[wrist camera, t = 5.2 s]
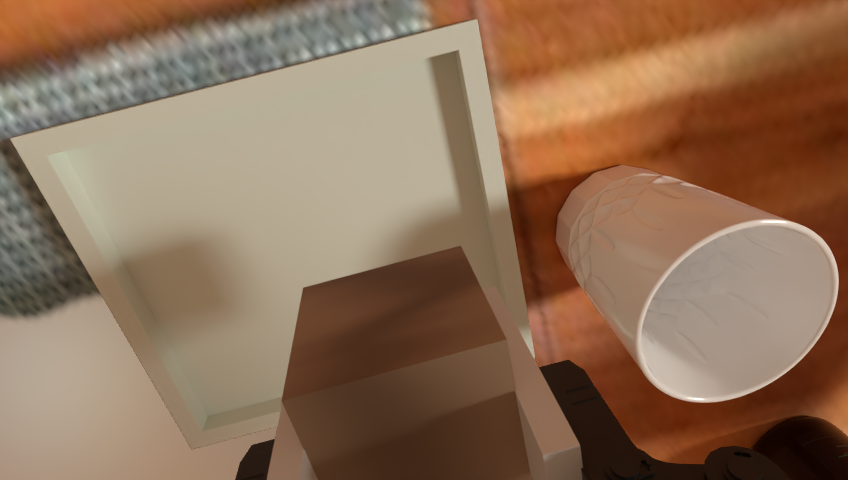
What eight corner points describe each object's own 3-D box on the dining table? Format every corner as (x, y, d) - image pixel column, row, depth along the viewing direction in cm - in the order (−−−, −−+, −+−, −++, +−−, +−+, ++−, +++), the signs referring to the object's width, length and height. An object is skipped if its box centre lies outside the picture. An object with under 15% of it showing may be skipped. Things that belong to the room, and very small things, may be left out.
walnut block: (460, 245, 15) (506, 339, 11) (488, 370, 17) (536, 493, 13) (302, 287, 15) (281, 400, 10) (349, 408, 17) (348, 547, 13)
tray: (467, 20, 22) (477, 19, 21) (524, 338, 30) (535, 358, 28) (38, 129, 22) (9, 138, 20) (202, 423, 29) (191, 449, 28)
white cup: (515, 240, 27) (592, 346, 18) (614, 122, 25) (758, 175, 16) (610, 308, 30) (721, 432, 21) (708, 206, 28) (878, 293, 19)
